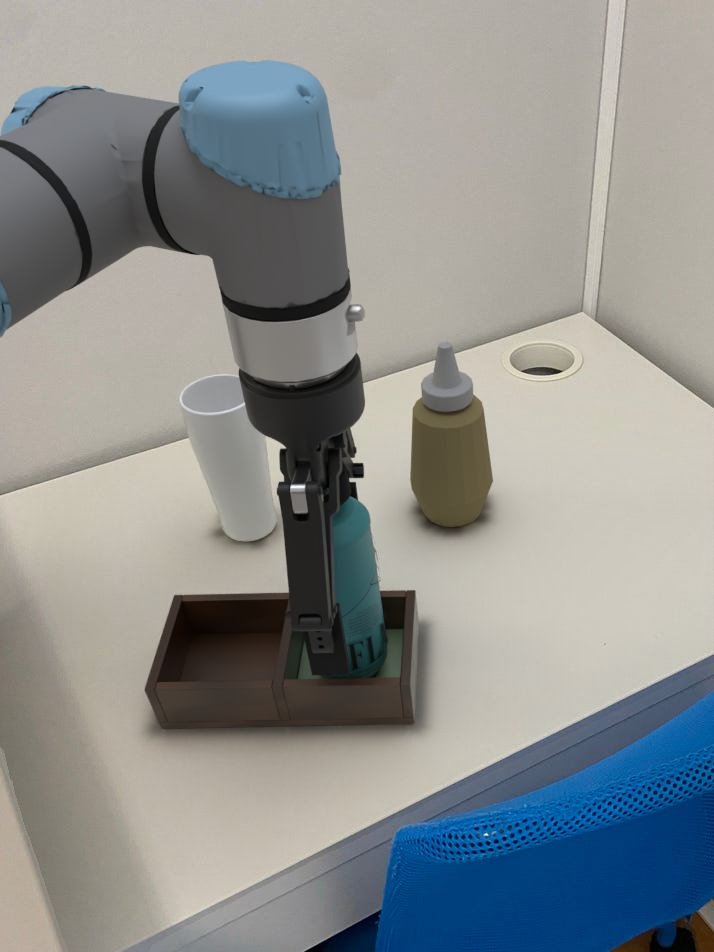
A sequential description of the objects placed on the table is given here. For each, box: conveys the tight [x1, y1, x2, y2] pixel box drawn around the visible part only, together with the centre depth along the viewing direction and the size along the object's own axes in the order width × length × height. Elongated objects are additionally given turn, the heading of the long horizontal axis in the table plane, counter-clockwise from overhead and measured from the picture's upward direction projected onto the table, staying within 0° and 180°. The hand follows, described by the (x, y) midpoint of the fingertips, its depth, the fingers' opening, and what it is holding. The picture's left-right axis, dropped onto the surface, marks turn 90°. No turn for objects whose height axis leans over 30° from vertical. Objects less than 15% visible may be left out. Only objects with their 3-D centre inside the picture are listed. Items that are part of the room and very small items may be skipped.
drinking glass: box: [178, 373, 278, 542], centre depth 87 cm, size 7×7×15 cm
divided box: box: [143, 589, 420, 729], centre depth 77 cm, size 20×11×5 cm, turn 90°
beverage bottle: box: [323, 463, 389, 679], centre depth 71 cm, size 6×7×20 cm
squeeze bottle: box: [409, 341, 494, 528], centre depth 87 cm, size 8×8×18 cm
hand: (340, 606), depth 73 cm, fingers open, 13 cm apart
